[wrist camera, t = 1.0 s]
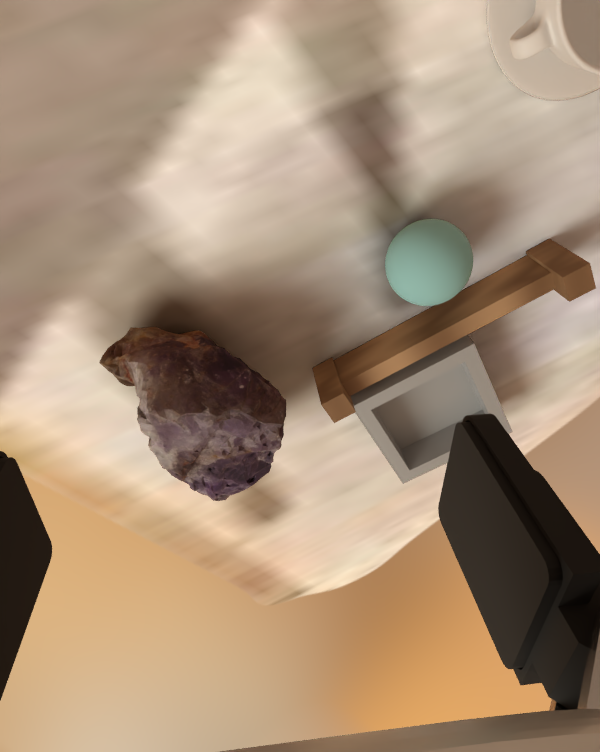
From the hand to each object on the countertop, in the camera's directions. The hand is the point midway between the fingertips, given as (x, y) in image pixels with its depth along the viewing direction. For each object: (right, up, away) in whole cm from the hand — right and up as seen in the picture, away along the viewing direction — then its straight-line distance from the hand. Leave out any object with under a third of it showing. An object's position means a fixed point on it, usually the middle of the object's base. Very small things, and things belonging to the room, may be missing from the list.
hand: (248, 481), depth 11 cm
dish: (+10, +1, +27) cm, 29 cm away
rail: (+10, +6, +23) cm, 26 cm away
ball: (+8, +10, +21) cm, 25 cm away
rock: (-5, +3, +24) cm, 25 cm away
